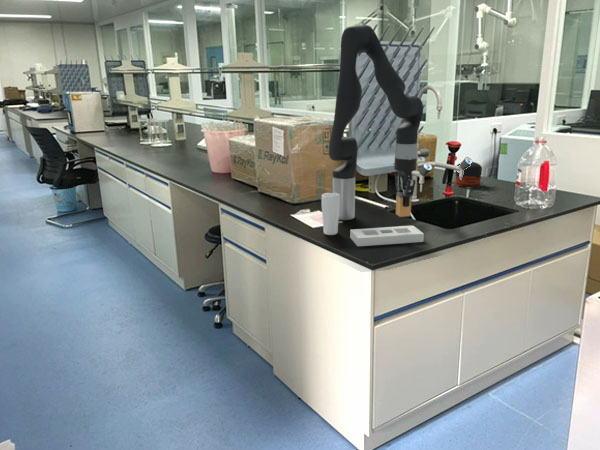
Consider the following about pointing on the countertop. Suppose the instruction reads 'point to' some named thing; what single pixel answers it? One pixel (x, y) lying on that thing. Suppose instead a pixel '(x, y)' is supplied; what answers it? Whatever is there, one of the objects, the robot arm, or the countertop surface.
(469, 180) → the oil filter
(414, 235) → the pdu strip
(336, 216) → the drinking glass
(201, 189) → the countertop surface
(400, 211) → the plug
